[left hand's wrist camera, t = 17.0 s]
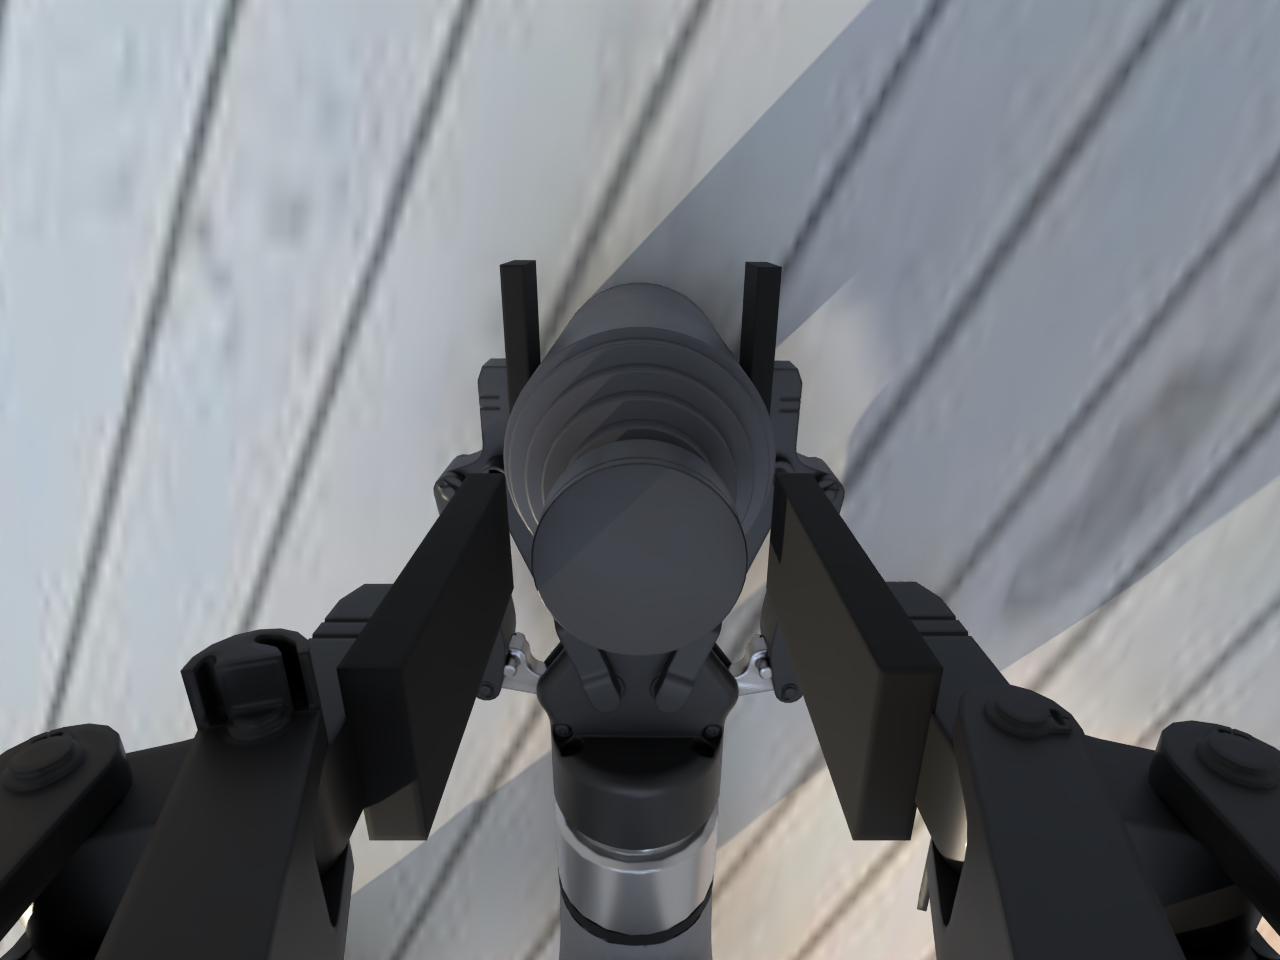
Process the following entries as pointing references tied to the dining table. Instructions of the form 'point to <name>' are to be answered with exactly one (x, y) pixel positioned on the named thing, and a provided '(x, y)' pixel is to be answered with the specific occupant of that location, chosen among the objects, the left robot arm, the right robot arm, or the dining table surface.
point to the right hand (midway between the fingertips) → (640, 264)
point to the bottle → (639, 398)
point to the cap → (639, 548)
